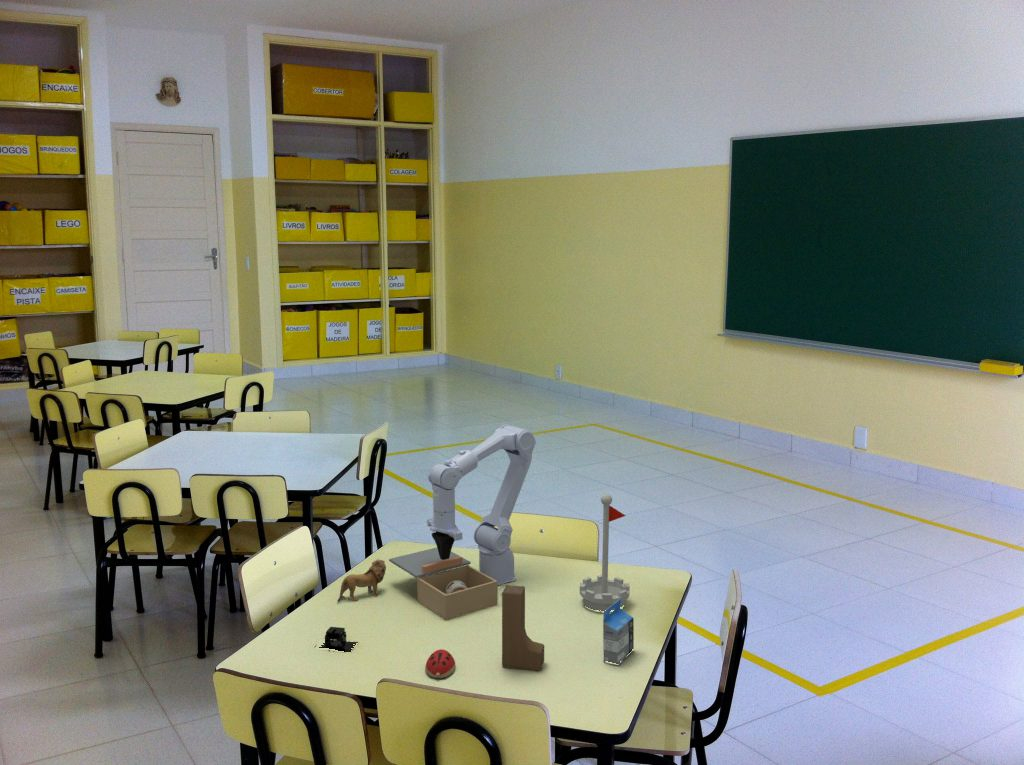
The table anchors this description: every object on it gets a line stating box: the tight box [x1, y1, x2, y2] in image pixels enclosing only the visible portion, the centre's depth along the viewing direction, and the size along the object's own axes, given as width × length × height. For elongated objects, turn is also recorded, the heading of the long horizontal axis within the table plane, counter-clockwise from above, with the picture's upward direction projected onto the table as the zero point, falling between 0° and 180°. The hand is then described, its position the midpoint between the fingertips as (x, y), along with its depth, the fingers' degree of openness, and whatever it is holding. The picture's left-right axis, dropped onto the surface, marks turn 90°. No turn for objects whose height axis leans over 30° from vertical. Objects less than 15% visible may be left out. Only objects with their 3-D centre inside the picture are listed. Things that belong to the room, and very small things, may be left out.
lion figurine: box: [336, 558, 387, 603], centre depth 238 cm, size 15×5×9 cm, turn 130°
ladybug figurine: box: [424, 648, 456, 679], centre depth 199 cm, size 7×10×4 cm
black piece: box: [319, 626, 359, 653], centre depth 210 cm, size 12×7×5 cm, turn 80°
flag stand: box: [579, 493, 631, 611], centre depth 232 cm, size 13×13×30 cm
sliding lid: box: [388, 547, 472, 579], centre depth 244 cm, size 17×15×2 cm
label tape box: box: [602, 599, 635, 665], centre depth 204 cm, size 9×4×12 cm, turn 148°
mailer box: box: [416, 564, 499, 621], centre depth 234 cm, size 16×14×6 cm
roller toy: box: [445, 580, 468, 594], centre depth 234 cm, size 4×6×6 cm
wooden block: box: [501, 584, 545, 671], centre depth 200 cm, size 9×4×18 cm, turn 78°
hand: (444, 558), depth 238 cm, fingers closed
